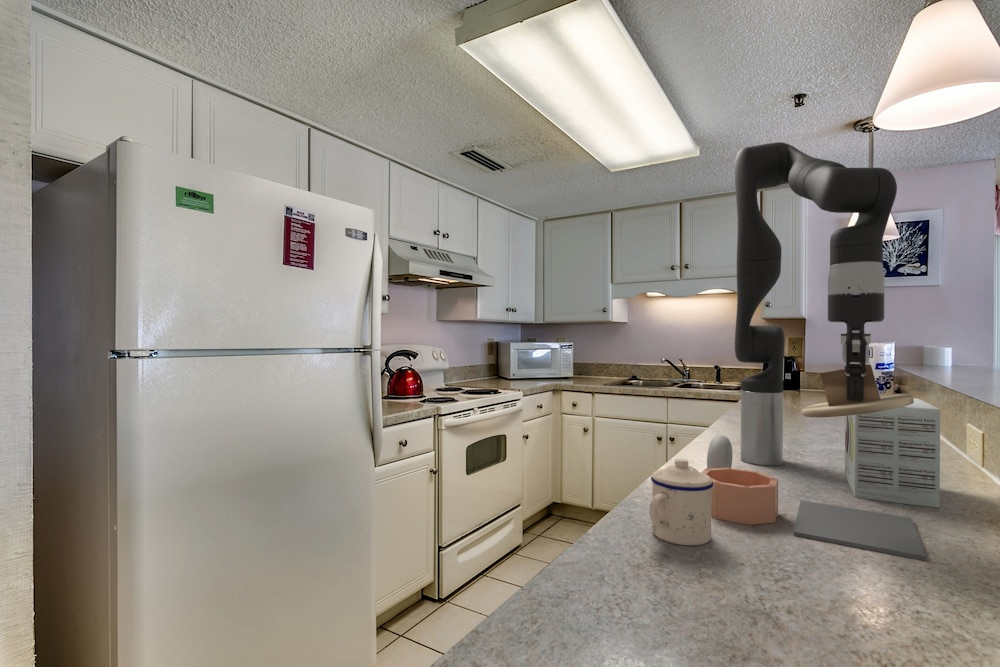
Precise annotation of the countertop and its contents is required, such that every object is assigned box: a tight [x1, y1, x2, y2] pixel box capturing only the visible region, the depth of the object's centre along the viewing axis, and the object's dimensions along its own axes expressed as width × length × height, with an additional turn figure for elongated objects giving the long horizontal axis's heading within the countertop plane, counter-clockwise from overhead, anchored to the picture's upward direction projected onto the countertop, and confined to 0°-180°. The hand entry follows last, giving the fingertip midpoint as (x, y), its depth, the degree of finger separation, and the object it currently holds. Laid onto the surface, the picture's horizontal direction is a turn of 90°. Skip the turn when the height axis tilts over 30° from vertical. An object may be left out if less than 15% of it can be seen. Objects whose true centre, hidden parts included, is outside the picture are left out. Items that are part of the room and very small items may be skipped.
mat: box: [792, 499, 927, 561], centre depth 83 cm, size 18×16×1 cm
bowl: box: [700, 467, 779, 526], centre depth 91 cm, size 12×12×6 cm
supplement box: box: [844, 398, 941, 509], centre depth 103 cm, size 17×13×18 cm
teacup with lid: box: [649, 458, 713, 546], centre depth 79 cm, size 12×9×12 cm
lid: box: [801, 364, 914, 418], centre depth 83 cm, size 15×15×6 cm
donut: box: [706, 434, 733, 469], centre depth 108 cm, size 10×4×10 cm, turn 143°
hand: (854, 399), depth 83 cm, fingers closed on lid
